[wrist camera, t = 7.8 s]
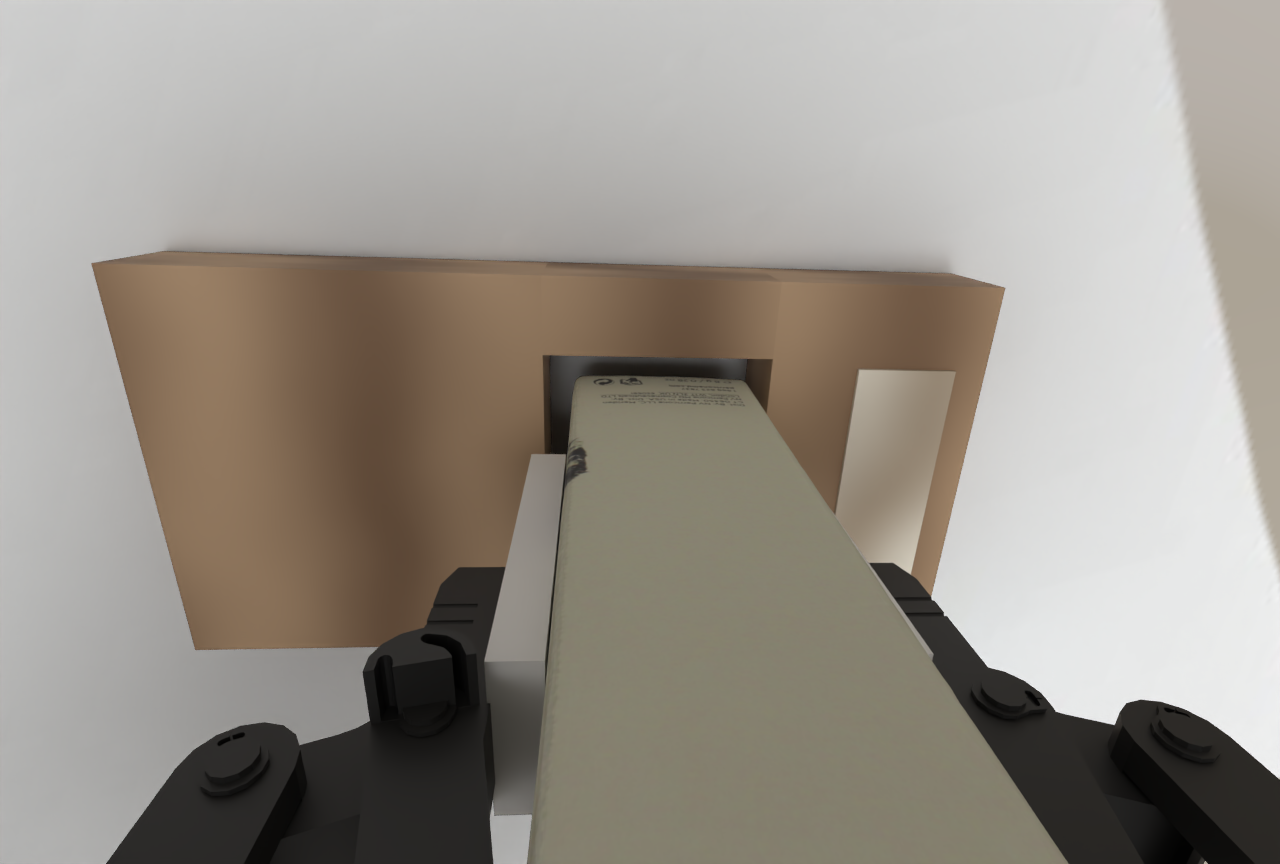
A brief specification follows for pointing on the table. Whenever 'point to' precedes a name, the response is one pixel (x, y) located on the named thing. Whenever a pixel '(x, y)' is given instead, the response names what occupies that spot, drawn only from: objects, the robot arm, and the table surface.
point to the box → (740, 663)
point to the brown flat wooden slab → (494, 411)
